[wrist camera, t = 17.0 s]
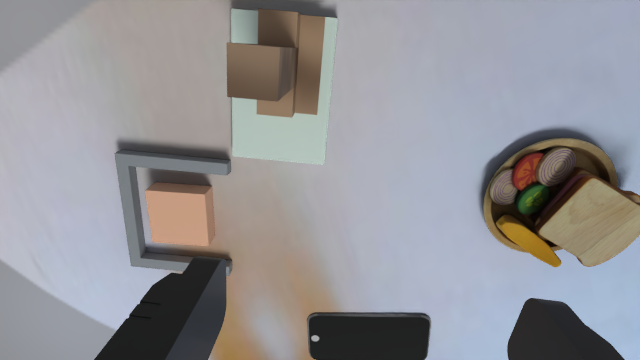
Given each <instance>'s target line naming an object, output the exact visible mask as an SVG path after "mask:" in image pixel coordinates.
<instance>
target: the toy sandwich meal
mask: <svg viewBox="0 0 640 360" xmlns="http://www.w3.org/2000/svg"><path fill="white" fill-rule="evenodd" d="M483 211H484V218H485V222H486V224H487V227H488V229H489V230H490V232H491V233H492V235H493V236H494V237H495V238H496V239H497V240H498V241H499V242H501V243H502V244H504V245H505V246H507V247H509V248H511V249H514V250H517V251H521V252H526V253H530V254H532V255H533V256H535V257H536V258H538V259H540V260H542V261H544V262H546V263H548V264H549V265H551V266H553V267H558V266H560V264H561V260H560V259H559V258H558V257H557V255H556V254H555V253H554V251H557V250H561V249H565V250H566V251H568V252H570V253H571V254H573V255H574V256H576V257H577V259H578V260H579V261H580V262H581V263H582V264H583V265H584V266H587V267H591V266H595V265H598V264H601V263H603V262H605V261H607V260H609V259H611V258H613V257H614V256H616V255H617V254H619V253H620V252H621V251H623V250H624V249H625V248H627V247H628V246H629V245H630V244H631V243H632V242H633V241H634V240H635V239H636V238H637V237H638V236H639V235H640V196H639V195H638V194H636V193H634V192H632V191H624V190H621V189H619V188H617V175H616V171H615V168H614V165H613V163H612V161H611V160H610V158H609V157H608V156H607V155H606V153H605V152H604V151H602V150H601V149H600V148H599V147H597V146H595V145H594V144H592V143H589V142H587V141H584V140H580V139H574V138H554V139H548V140H544V141H540V142H537V143H535V144H532V145H530V146H528V147H526V148H524V149H522V150H520V151H519V152H517V153H516V154H514V155H513V156H512V157H510V158H509V159H508V160H507V161H506V162H505V163H504V164H503V165H502V166H501V167H500V168H499V169H498V170H497V172H496V173H495V174H494V176H493V177H492V179H491V181H490V183H489V185H488V187H487V190H486V193H485V197H484V204H483Z"/></svg>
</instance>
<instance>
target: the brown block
mask: <svg viewBox="0 0 640 360" xmlns="http://www.w3.org/2000/svg"><path fill="white" fill-rule="evenodd" d="M324 29H325V17H318V16H307V15H300V14H299V13H298V12H291V11H280V10H269V9H258V44H246V43H227V97H234V98H244V99H255V100H257V114H259V115H269V116H280V117H290V118H292V117H293V115H294V114H295V113H300V114H311V115H317V112H318V101H319V89H320V77H321V65H322V53H323V41H324Z"/></svg>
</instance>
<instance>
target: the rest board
mask: <svg viewBox="0 0 640 360" xmlns="http://www.w3.org/2000/svg"><path fill="white" fill-rule="evenodd" d="M307 16H308V15H307ZM318 17H319V16H318ZM337 23H338V18H330V17H325V29H324V41H323V53H322V65H321V77H320V89H319V101H318V112H317V115H311V114H300V113H295V114H294V115H293V117H292V118H290V117H280V116H269V115H259V114H257V100H255V99H244V98H234V97H232V141H233V156H236V157H246V158H257V159H267V160H278V161H288V162H299V163H309V164H320V165H324V160H325V150H326V139H327V129H328V118H329V107H330V97H331V86H332V76H333V65H334V55H335V44H336V34H337ZM231 43H246V44H258V11H253V10H242V9H231Z"/></svg>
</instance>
